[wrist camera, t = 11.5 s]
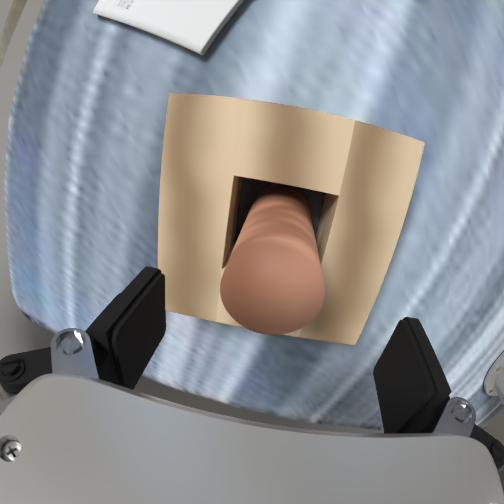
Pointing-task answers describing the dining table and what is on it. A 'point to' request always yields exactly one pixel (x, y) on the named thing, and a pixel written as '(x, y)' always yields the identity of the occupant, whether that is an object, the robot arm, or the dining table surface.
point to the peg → (274, 265)
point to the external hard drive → (173, 18)
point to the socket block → (284, 172)
